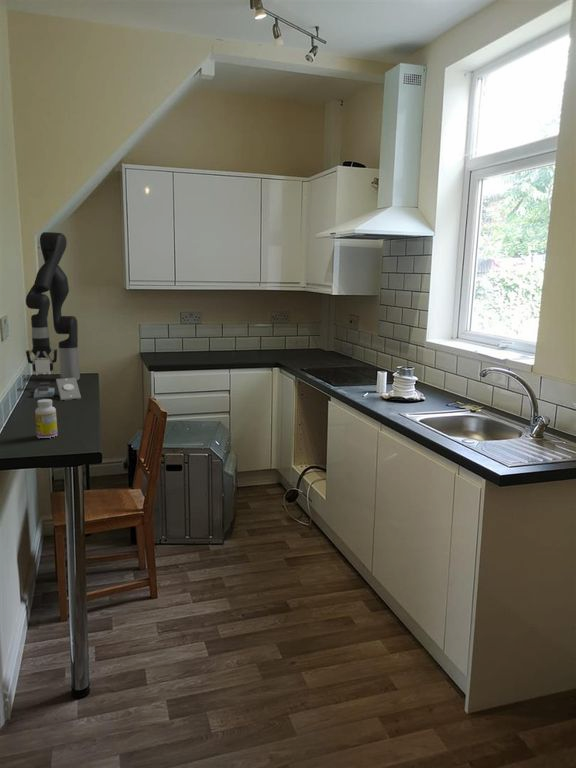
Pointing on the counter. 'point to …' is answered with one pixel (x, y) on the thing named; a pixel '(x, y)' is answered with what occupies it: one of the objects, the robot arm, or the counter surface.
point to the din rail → (44, 388)
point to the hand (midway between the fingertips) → (43, 371)
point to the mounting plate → (50, 394)
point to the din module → (42, 366)
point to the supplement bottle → (46, 419)
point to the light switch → (68, 389)
